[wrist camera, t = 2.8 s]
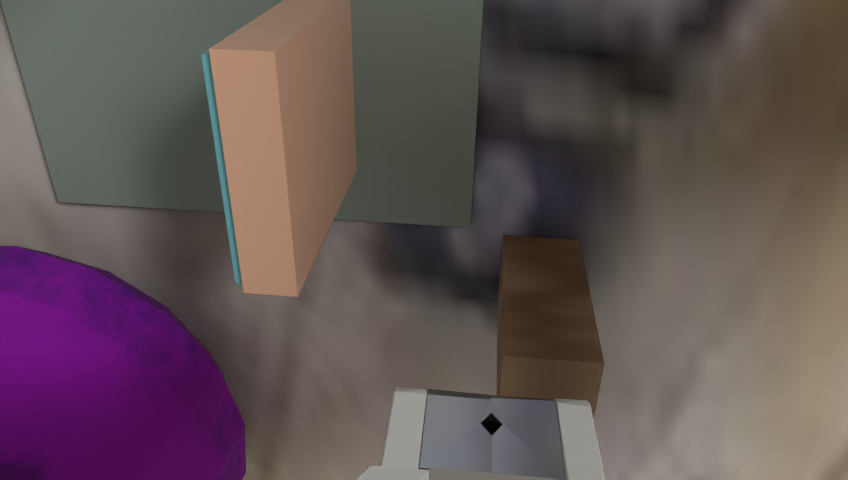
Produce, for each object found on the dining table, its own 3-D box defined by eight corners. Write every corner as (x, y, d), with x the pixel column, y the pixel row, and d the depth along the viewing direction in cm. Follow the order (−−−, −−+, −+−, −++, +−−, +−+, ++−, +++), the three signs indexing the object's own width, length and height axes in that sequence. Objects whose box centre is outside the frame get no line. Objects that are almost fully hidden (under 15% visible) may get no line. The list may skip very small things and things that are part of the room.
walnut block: (579, 240, 28) (603, 363, 21) (569, 302, 30) (590, 436, 23) (503, 235, 29) (503, 355, 22) (497, 297, 30) (496, 428, 23)
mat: (488, -83, 23) (488, -82, 22) (471, 221, 28) (470, 227, 28) (-16, -96, 24) (-27, -95, 23) (65, 196, 30) (58, 201, 29)
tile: (349, -13, 24) (274, 51, 16) (356, 170, 27) (297, 297, 19) (297, -15, 24) (196, 48, 16) (310, 168, 27) (233, 292, 19)
